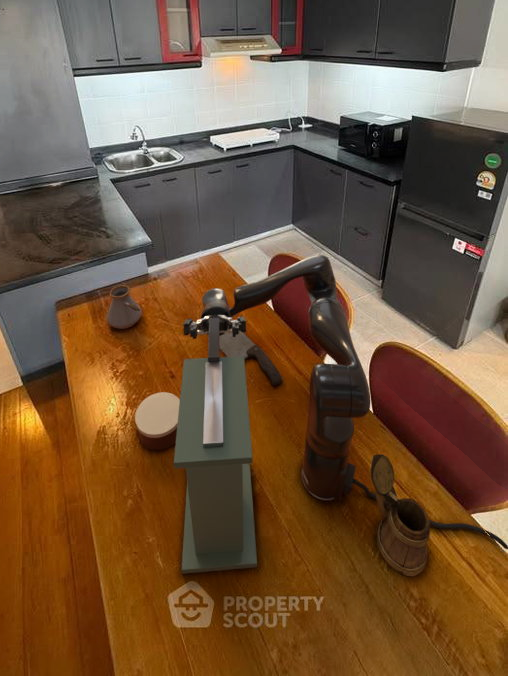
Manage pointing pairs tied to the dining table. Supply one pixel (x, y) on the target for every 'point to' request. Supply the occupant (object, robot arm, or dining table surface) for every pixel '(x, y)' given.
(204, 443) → the knife
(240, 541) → the display stand
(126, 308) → the coffee pot
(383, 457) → the wooden mug
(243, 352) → the cleaver
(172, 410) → the cake
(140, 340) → the dining table surface
